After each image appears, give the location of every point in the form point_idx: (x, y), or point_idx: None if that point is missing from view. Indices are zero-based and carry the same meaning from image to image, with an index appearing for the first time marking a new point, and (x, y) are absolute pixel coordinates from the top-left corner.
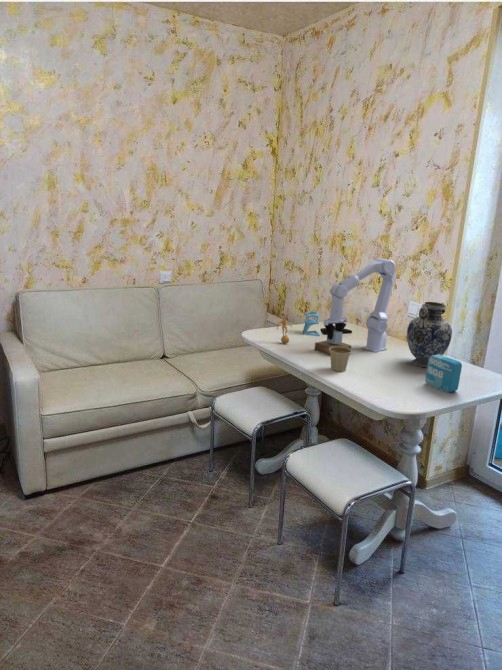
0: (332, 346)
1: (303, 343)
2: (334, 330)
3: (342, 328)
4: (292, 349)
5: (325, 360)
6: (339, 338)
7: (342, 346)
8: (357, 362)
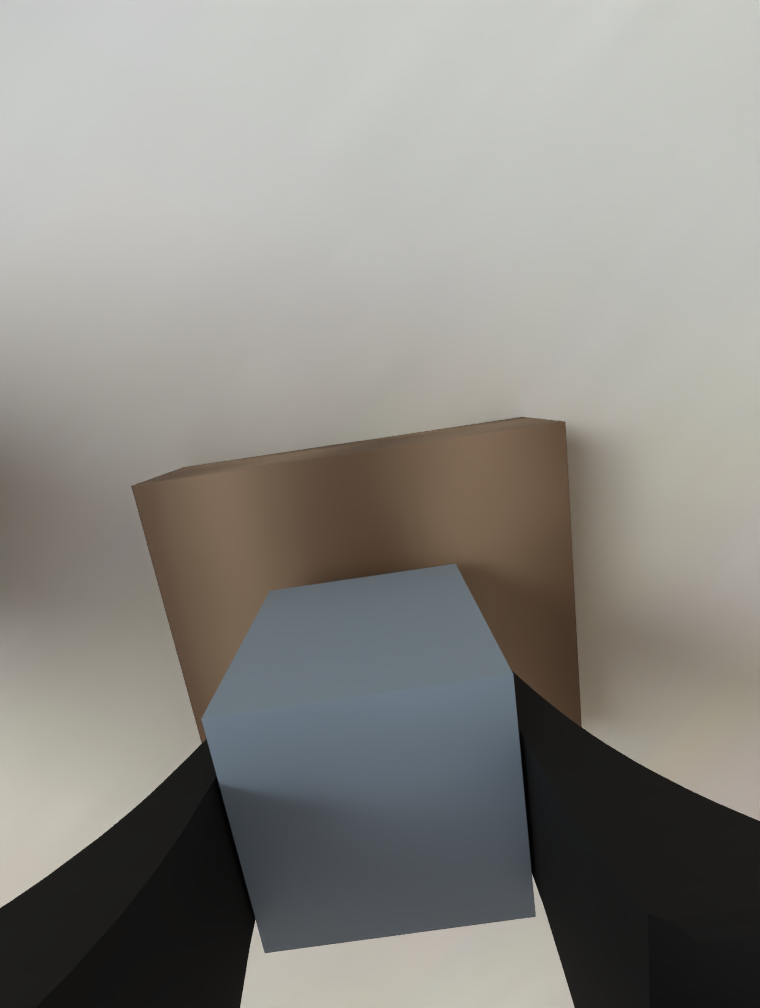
0: (483, 553)
1: None
2: (303, 918)
3: (125, 867)
4: (757, 800)
5: (741, 327)
6: (331, 621)
7: (323, 495)
8: (391, 46)
